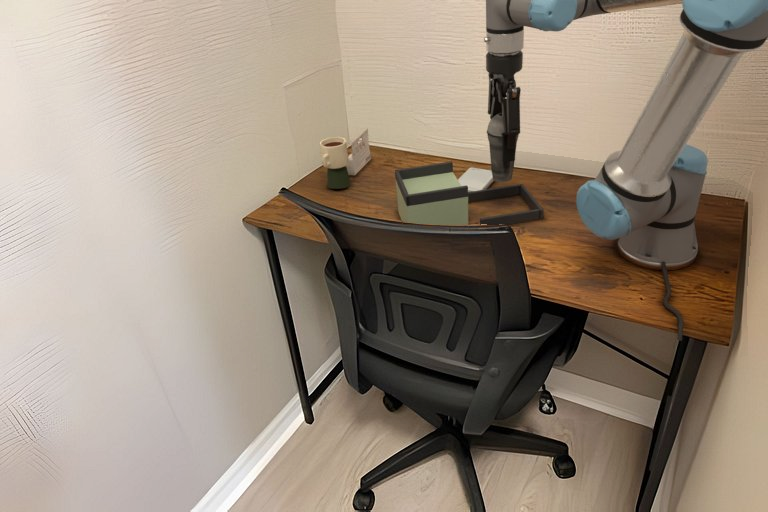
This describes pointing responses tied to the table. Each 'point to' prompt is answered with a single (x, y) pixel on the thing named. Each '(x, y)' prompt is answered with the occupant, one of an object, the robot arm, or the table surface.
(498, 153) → the beverage cup
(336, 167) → the character mug
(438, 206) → the tray
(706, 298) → the table surface
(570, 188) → the table surface
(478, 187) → the hard drive
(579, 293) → the table surface
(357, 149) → the ink cartridge box
